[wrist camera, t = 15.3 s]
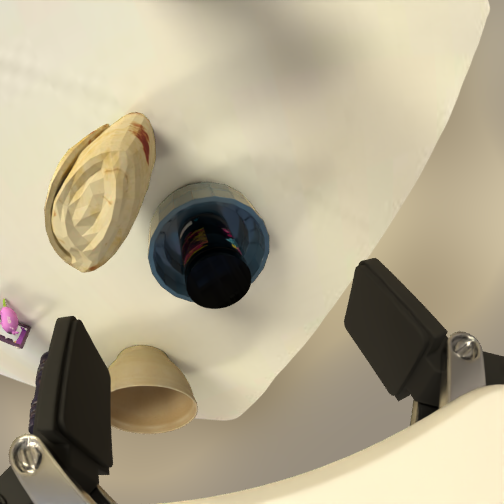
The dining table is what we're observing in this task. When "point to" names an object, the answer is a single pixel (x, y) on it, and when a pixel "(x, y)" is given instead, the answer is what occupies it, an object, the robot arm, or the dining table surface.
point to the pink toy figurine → (12, 326)
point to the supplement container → (212, 262)
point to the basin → (191, 204)
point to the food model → (99, 191)
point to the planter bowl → (149, 392)
